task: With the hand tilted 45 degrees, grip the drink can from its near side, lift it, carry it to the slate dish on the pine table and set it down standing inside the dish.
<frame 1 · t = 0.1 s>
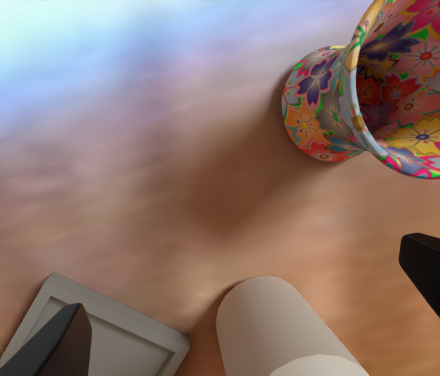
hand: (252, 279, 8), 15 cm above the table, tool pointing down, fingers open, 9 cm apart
mug: (344, 107, 25), on the table
slate dish: (87, 368, 24), on the table
can: (258, 313, 26), on the table
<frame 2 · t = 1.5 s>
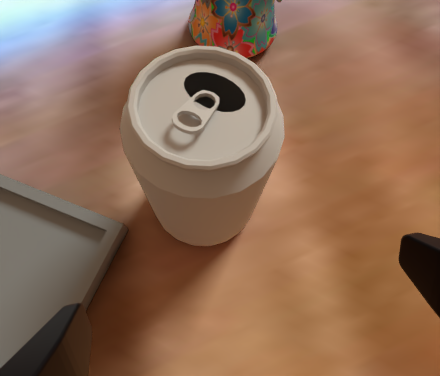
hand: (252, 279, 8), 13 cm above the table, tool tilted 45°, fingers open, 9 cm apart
mug: (245, 32, 31), on the table
slate dish: (10, 275, 21), on the table
can: (204, 200, 24), on the table
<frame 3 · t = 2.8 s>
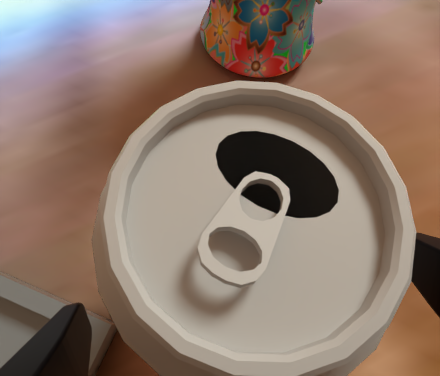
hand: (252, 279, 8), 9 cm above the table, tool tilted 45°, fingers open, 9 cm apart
mug: (271, 42, 24), on the table
can: (225, 277, 17), on the table
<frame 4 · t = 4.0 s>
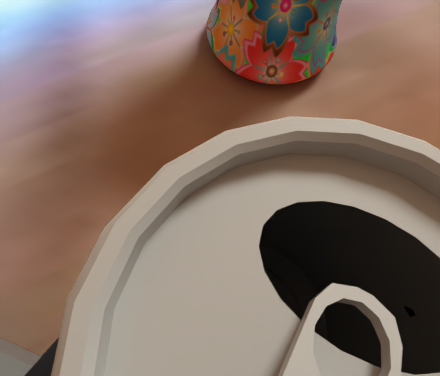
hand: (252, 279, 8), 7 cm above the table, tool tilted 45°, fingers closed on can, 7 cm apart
mug: (287, 43, 21), on the table
can: (239, 327, 14), on the table, touching gripper
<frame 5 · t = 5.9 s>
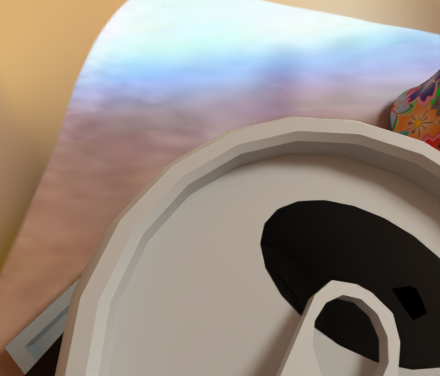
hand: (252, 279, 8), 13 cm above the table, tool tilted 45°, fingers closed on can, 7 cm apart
slate dish: (151, 339, 20), on the table
can: (239, 325, 14), point 6 cm above the table, touching gripper
when the fingers open (8 cm above the table, at t = 7.9 s): can stays where it is, resting on slate dish.
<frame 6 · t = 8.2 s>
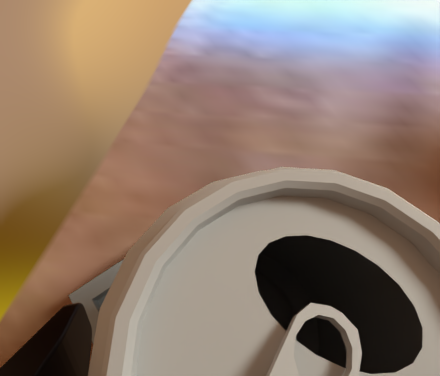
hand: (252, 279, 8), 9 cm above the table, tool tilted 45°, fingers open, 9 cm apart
slate dish: (235, 325, 16), on the table
can: (237, 329, 15), resting on slate dish
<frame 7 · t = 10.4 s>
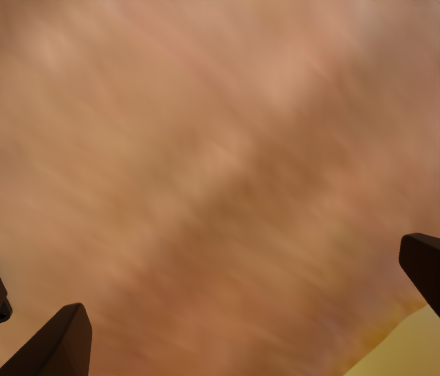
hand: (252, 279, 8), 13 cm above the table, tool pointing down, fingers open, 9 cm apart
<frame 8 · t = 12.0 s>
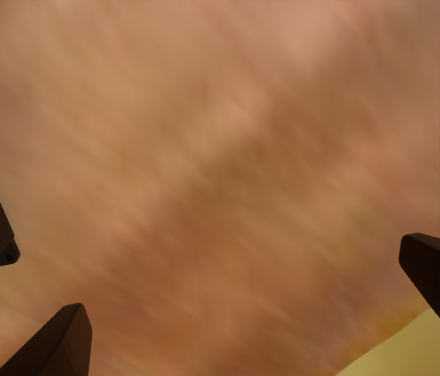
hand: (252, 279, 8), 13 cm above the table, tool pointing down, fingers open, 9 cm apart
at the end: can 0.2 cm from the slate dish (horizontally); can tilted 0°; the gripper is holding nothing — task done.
